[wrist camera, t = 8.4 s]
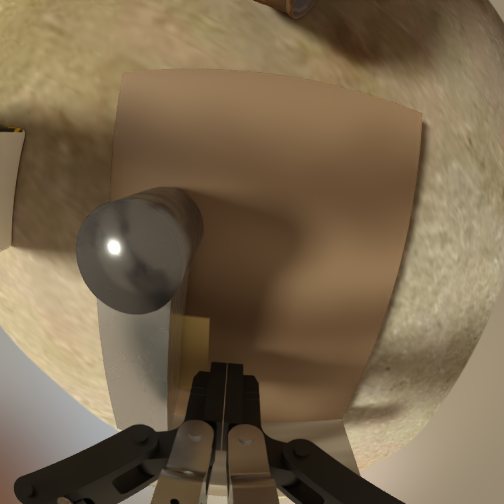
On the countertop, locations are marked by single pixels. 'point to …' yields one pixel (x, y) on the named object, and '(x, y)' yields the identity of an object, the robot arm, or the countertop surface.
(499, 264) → the countertop surface
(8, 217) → the medicine bottle
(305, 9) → the tin
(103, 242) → the swing bar
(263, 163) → the board
